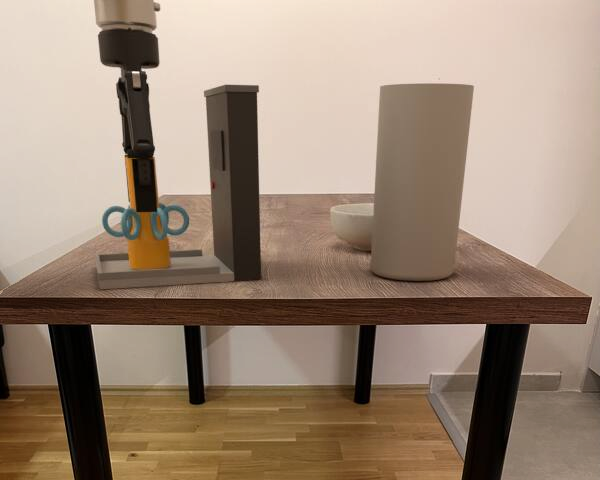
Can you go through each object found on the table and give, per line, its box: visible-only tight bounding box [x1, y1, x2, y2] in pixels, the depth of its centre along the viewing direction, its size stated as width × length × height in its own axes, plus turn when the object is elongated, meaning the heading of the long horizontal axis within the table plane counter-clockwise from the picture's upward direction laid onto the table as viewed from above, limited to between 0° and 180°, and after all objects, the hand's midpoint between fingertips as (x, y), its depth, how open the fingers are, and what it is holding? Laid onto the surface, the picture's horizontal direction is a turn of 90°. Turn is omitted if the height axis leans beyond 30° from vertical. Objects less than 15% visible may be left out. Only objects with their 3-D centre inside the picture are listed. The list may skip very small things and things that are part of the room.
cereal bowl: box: [329, 202, 374, 252], centre depth 116 cm, size 17×17×7 cm
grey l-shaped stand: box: [94, 84, 262, 290], centre depth 91 cm, size 23×16×25 cm
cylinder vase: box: [370, 82, 475, 282], centre depth 91 cm, size 12×12×25 cm
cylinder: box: [101, 156, 190, 270], centre depth 91 cm, size 12×10×15 cm
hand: (142, 206), depth 91 cm, fingers open, 13 cm apart
